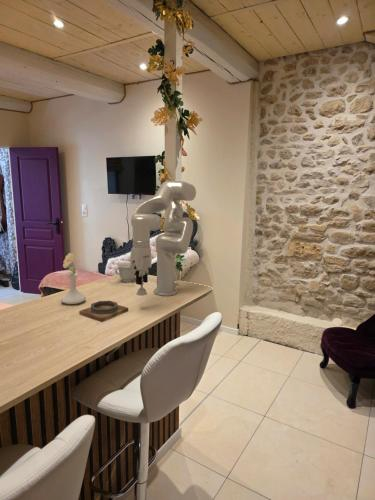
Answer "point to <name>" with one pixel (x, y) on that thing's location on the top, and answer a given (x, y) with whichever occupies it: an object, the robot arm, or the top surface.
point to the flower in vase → (72, 284)
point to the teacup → (125, 272)
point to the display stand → (103, 310)
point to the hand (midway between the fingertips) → (141, 282)
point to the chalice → (141, 290)
